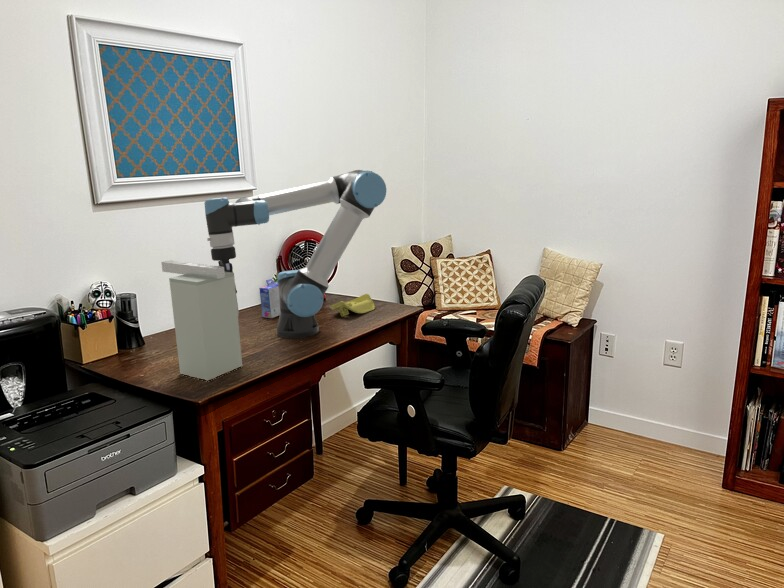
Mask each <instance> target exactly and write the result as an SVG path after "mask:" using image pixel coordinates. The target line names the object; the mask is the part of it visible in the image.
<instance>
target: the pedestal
mask: <svg viewBox="0 0 784 588" xmlns="http://www.w3.org/2000/svg"><path fill="white" fill-rule="evenodd" d="M224 273H225V277H223V278H219V279H213V278H206V277H199V276H191V275H184V274H179V275H177V276H173V277H169V281H168V282H169V291H170V297H171V305H172V306H171V307H172V315H173V323H174V331H175V341H176V350H177V357H178V358H177V359H178V366H179V367H178V368H179V374H180V373H181V374H185V375H189V376H193V377H197V378H201V379H205V380H209V379H211V378H213V377H216V376H218V375H220V374H222V373H225V372H227V371H230V370H232V369H235V368H237V367H240V366H242V367H243V359H242V358H243V357H242V348H241V347H242V345H241V337H240V325H239V315H238V312H237V303H238V300H237V301H236V296H237V293H236V290H237V289H236V290H235V285H236V283H235V282H236V279H235V272H233V273H232V272H224Z"/></svg>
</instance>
